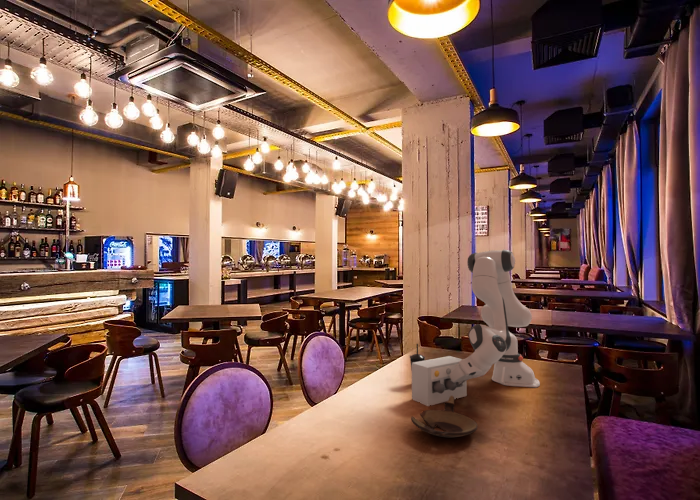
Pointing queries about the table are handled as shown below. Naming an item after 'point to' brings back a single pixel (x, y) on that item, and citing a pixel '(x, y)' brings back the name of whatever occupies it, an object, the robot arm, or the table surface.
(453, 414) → the oil lamp
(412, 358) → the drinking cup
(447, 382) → the button
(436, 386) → the button
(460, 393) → the console
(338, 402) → the table surface
